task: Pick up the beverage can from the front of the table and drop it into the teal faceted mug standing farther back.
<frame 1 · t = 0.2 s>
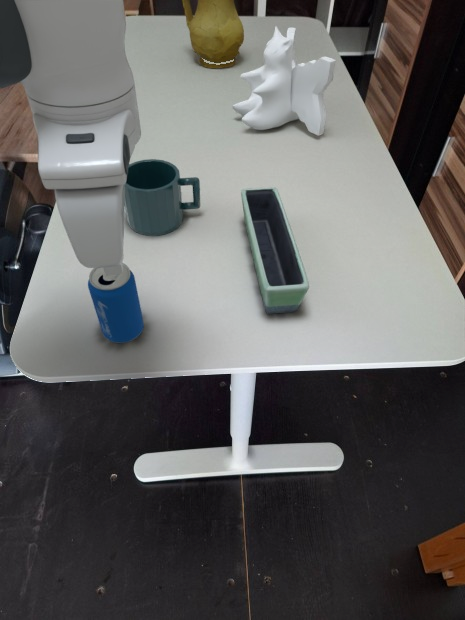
hand: (115, 241, 50), 23 cm above the table, tool pointing down, fingers open, 8 cm apart
white faceted figurine: (274, 122, 120), on the table
beverage can: (123, 330, 71), on the table
planter: (268, 263, 82), on the table
pitcher: (215, 61, 149), on the table
teal faceted mug: (155, 218, 90), on the table
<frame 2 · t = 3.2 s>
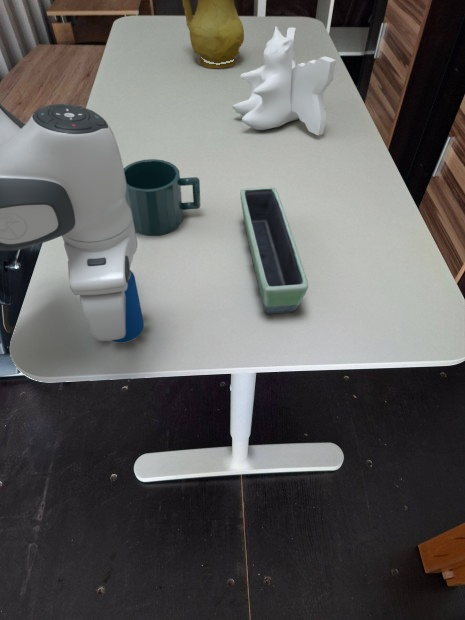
hand: (119, 310, 67), 5 cm above the table, tool pointing down, fingers closed on beverage can, 6 cm apart
beverage can: (124, 330, 71), on the table, touching gripper
everything else where it was.
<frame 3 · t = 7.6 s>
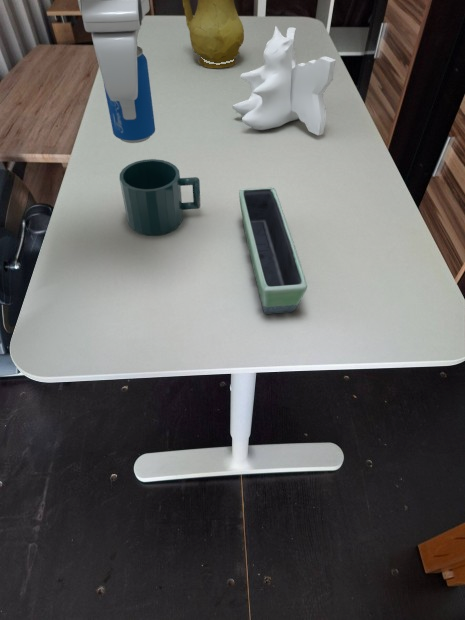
hand: (130, 105, 66), 26 cm above the table, tool pointing down, fingers closed on beverage can, 6 cm apart
beverage can: (135, 136, 70), point 21 cm above the table, touching gripper
everything else where it was.
when the fingers open (12 cm above the table, at t = 12.0 s): beverage can drops 6 cm, point 1 cm above the table.
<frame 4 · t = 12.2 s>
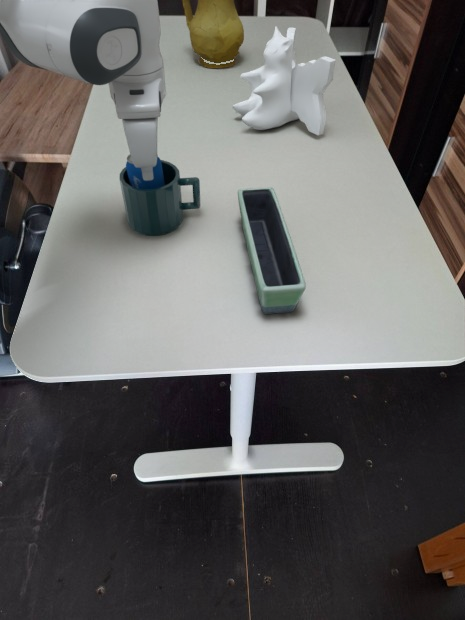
hand: (147, 163, 81), 12 cm above the table, tool pointing down, fingers open, 8 cm apart
beverage can: (153, 215, 89), point 1 cm above the table, touching gripper
everything else where it was.
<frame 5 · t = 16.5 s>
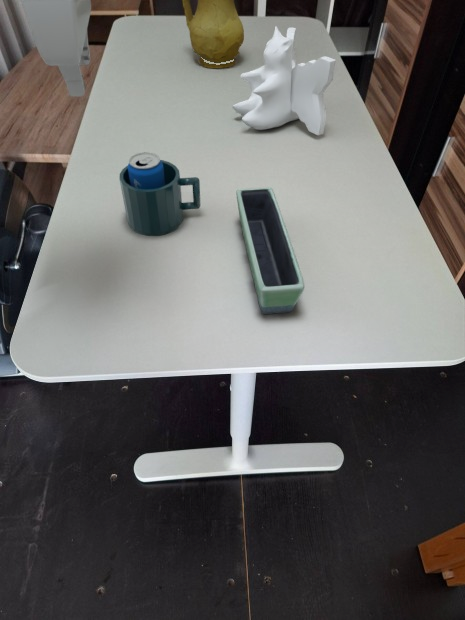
hand: (81, 78, 54), 33 cm above the table, tool pointing down, fingers open, 8 cm apart
beverage can: (152, 215, 90), resting on teal faceted mug
everything else where it was.
at the end: beverage can 0.9 cm off-centre in the teal faceted mug, point 0.4 cm above the teal faceted mug's base; the gripper is holding nothing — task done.
